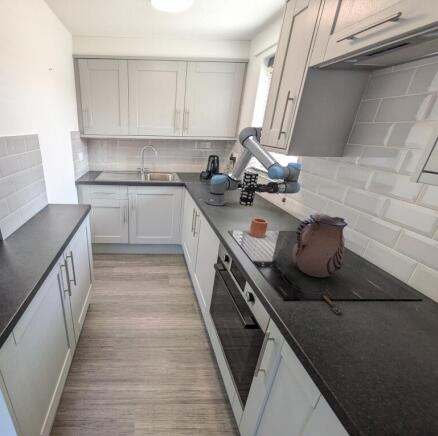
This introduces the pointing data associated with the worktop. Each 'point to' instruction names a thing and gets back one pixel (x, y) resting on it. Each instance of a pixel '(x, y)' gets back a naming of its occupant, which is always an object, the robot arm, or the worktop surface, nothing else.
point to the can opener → (332, 305)
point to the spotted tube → (248, 181)
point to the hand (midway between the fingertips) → (241, 187)
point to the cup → (258, 227)
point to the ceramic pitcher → (320, 245)
